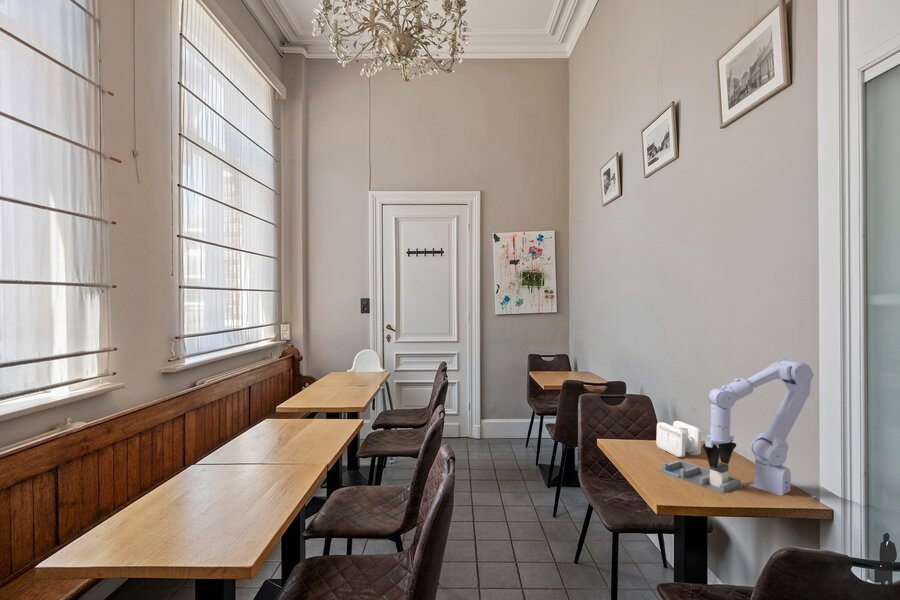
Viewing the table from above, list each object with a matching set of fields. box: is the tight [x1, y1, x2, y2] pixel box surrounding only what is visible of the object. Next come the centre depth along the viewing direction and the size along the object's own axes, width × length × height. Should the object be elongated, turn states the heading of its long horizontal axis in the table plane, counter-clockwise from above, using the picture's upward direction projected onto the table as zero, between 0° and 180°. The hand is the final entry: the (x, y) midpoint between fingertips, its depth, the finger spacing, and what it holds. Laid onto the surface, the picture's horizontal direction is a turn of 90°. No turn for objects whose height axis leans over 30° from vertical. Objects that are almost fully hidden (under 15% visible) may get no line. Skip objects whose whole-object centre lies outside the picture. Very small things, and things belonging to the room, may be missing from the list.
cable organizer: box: [656, 420, 702, 458], centre depth 188 cm, size 15×11×12 cm
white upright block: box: [709, 461, 729, 487], centre depth 154 cm, size 4×4×7 cm
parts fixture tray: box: [657, 459, 744, 495], centre depth 160 cm, size 23×13×3 cm, turn 33°
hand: (718, 465), depth 154 cm, fingers open, 7 cm apart
